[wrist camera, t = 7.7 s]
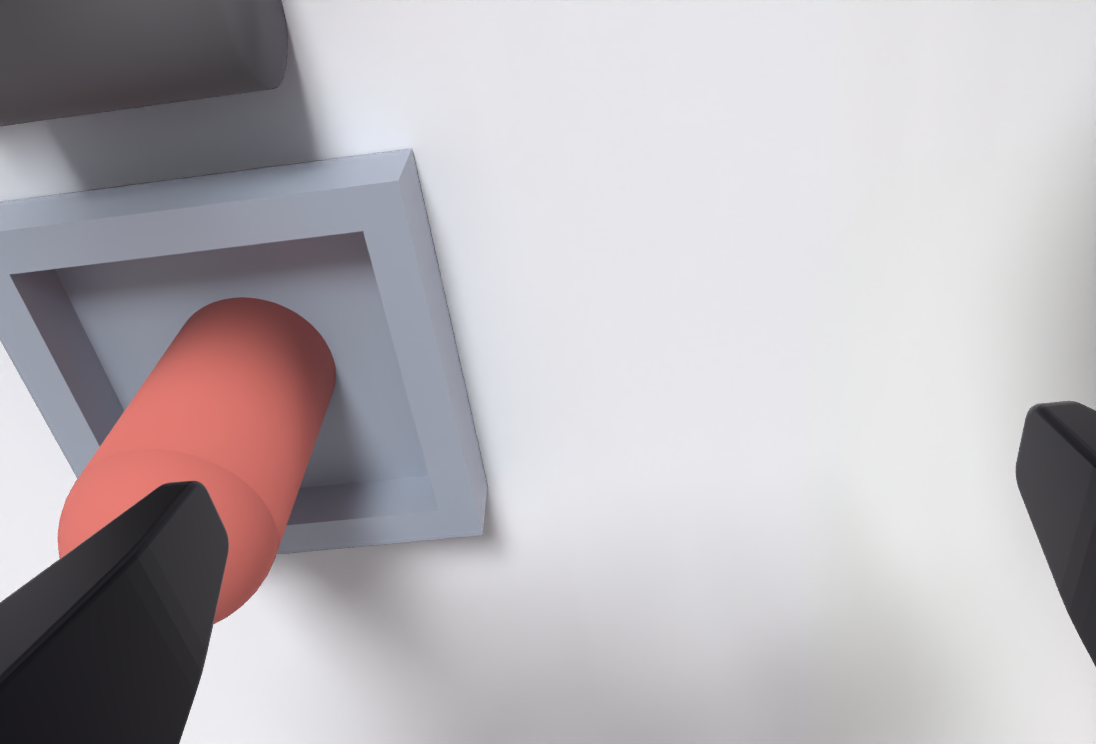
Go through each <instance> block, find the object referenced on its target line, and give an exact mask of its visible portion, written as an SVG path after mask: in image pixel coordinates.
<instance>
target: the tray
mask: <svg viewBox="0 0 1096 744" xmlns="http://www.w3.org/2000/svg"><path fill="white" fill-rule="evenodd" d="M239 297H246V298H257V299H262V300H267V301H270V302H274V303H277V304H279V305H282V306H284V307H286V308H288V309H290V310H292V311H294V312H296V313H297V314H299V315H300V316H301V317H303V318H304V319H306V320H307V321H308V322H309V323H310V324H311V325H312V326H313V327H314V328H315V329H316V330H317V331H318V332H319V333H320V334H321V336H322V337H323V339H324V340H325V341H326V343H327V345H328V347H329V349H330V351H331V353H332V356H333V359H334V363H335V370H336V380H335V386H334V390H333V394H332V396H331V399H330V402H329V405H328V408H327V411H326V414H325V416H324V419H323V422H322V425H321V428H320V431H319V434H318V437H317V439H316V442H315V445H314V448H313V451H312V454H311V457H310V460H309V462H308V465H307V468H306V471H305V474H304V477H303V480H302V482H301V485H300V488H299V491H298V494H297V497H296V500H295V503H294V505H293V508H292V511H291V514H290V517H289V520H288V523H287V525H286V528H285V531H284V534H283V537H282V540H281V543H280V546H279V548H278V551H277V554H285V553H296V552H307V551H318V550H328V549H339V548H350V547H361V546H371V545H382V544H393V543H404V542H414V541H425V540H436V539H447V538H457V537H468V536H479V535H483V527H484V517H485V507H486V498H487V488H488V485H487V481H486V477H485V472H484V468H483V463H482V459H481V454H480V450H479V445H478V441H477V436H476V432H475V428H474V423H473V419H472V414H471V410H470V405H469V401H468V396H467V392H466V387H465V383H464V378H463V374H462V370H461V365H460V361H459V356H458V352H457V347H456V343H455V338H454V334H453V329H452V325H451V321H450V316H449V312H448V307H447V303H446V298H445V294H444V289H443V285H442V280H441V276H440V271H439V267H438V263H437V258H436V254H435V249H434V245H433V240H432V236H431V231H430V227H429V222H428V218H427V214H426V209H425V205H424V200H423V196H422V191H421V187H420V182H419V178H418V173H417V169H416V164H415V160H414V156H413V151H412V149H405V150H397V151H390V152H382V153H374V154H366V155H359V156H351V157H343V158H336V159H328V160H320V161H313V162H305V163H297V164H290V165H282V166H274V167H266V168H259V169H251V170H243V171H236V172H228V173H220V174H213V175H205V176H197V177H189V178H182V179H174V180H166V181H159V182H151V183H143V184H136V185H128V186H120V187H113V188H105V189H97V190H89V191H82V192H74V193H66V194H59V195H51V196H43V197H36V198H28V199H20V200H12V201H5V202H0V340H1V342H2V344H3V346H4V348H5V349H6V351H7V353H8V355H9V357H10V358H11V360H12V362H13V364H14V366H15V367H16V369H17V371H18V373H19V375H20V376H21V378H22V380H23V382H24V384H25V385H26V387H27V389H28V391H29V393H30V394H31V396H32V398H33V400H34V402H35V403H36V405H37V407H38V409H39V410H40V412H41V414H42V416H43V418H44V419H45V421H46V423H47V425H48V427H49V428H50V430H51V432H52V434H53V436H54V437H55V439H56V441H57V443H58V445H59V446H60V448H61V450H62V452H63V454H64V455H65V457H66V459H67V461H68V463H69V464H70V466H71V468H72V470H73V472H74V473H75V475H76V477H77V479H78V478H79V476H80V475H81V473H82V472H83V470H84V469H85V467H86V466H87V465H88V463H89V462H90V460H91V459H92V457H93V456H94V454H95V453H96V452H97V450H98V449H99V447H100V446H101V444H102V443H103V441H104V440H105V438H106V437H107V436H108V434H109V433H110V431H111V430H112V428H113V427H114V425H115V424H116V423H117V421H118V420H119V418H120V417H121V415H122V414H123V412H124V411H125V409H126V408H127V407H128V405H129V404H130V402H131V401H132V399H133V398H134V396H135V395H136V394H137V392H138V391H139V389H140V388H141V386H142V385H143V383H144V382H145V380H146V379H147V378H148V376H149V375H150V373H151V372H152V370H153V369H154V367H155V366H156V364H157V363H158V362H159V360H160V359H161V357H162V356H163V354H164V353H165V351H166V350H167V349H168V347H169V346H170V344H171V343H172V341H173V340H174V338H175V337H176V335H177V334H178V333H179V331H180V330H181V328H182V327H183V325H184V324H185V323H186V321H187V320H188V319H189V318H190V317H191V316H192V315H193V314H194V313H195V312H196V311H198V310H199V309H201V308H202V307H204V306H206V305H208V304H211V303H213V302H216V301H219V300H223V299H229V298H239Z"/></svg>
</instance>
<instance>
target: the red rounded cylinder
mask: <svg viewBox="0 0 1096 744" xmlns="http://www.w3.org/2000/svg"><path fill="white" fill-rule="evenodd" d="M335 380H336V370H335V363H334V359H333V356H332V353H331V351H330V349H329V347H328V345H327V343H326V341H325V340H324V339H323V337H322V336H321V334H320V333H319V332H318V331H317V330H316V329H315V328H314V327H313V326H312V325H311V324H310V323H309V322H308V321H307V320H306V319H304V318H303V317H301V316H300V315H299V314H297V313H296V312H294V311H292V310H290V309H288V308H286V307H284V306H282V305H279V304H277V303H274V302H270V301H267V300H262V299H257V298H246V297H239V298H229V299H223V300H219V301H216V302H213V303H211V304H208V305H206V306H204V307H202V308H201V309H199V310H198V311H196V312H195V313H194V314H193V315H192V316H191V317H190V318H189V319H188V320H187V321H186V323H185V324H184V325H183V327H182V328H181V330H180V331H179V333H178V334H177V335H176V337H175V338H174V340H173V341H172V343H171V344H170V346H169V347H168V349H167V350H166V351H165V353H164V354H163V356H162V357H161V359H160V360H159V362H158V363H157V364H156V366H155V367H154V369H153V370H152V372H151V373H150V375H149V376H148V378H147V379H146V380H145V382H144V383H143V385H142V386H141V388H140V389H139V391H138V392H137V394H136V395H135V396H134V398H133V399H132V401H131V402H130V404H129V405H128V407H127V408H126V409H125V411H124V412H123V414H122V415H121V417H120V418H119V420H118V421H117V423H116V424H115V425H114V427H113V428H112V430H111V431H110V433H109V434H108V436H107V437H106V438H105V440H104V441H103V443H102V444H101V446H100V447H99V449H98V450H97V452H96V453H95V454H94V456H93V457H92V459H91V460H90V462H89V463H88V465H87V466H86V467H85V469H84V470H83V472H82V473H81V475H80V476H79V478H78V479H77V481H76V482H75V484H74V486H73V487H72V489H71V491H70V493H69V495H68V497H67V499H66V501H65V504H64V507H63V510H62V513H61V517H60V522H59V529H58V550H59V558H62V557H63V556H65V555H66V554H67V553H69V552H70V551H71V550H73V549H74V548H76V547H77V546H78V545H80V544H81V543H82V542H84V541H85V540H86V539H88V538H89V537H91V536H92V535H93V534H95V533H96V532H97V531H99V530H100V529H101V528H103V527H104V526H106V525H107V524H108V523H110V522H111V521H112V520H114V519H115V518H117V517H118V516H119V515H121V514H122V513H123V512H125V511H126V510H127V509H129V508H130V507H132V506H133V505H134V504H136V503H137V502H138V501H140V500H141V499H142V498H144V497H145V496H147V495H148V494H149V493H151V492H152V491H153V490H155V489H156V488H158V487H159V486H161V485H162V484H165V483H170V482H181V481H193V480H194V481H198V482H201V483H202V484H203V485H204V486H205V487H206V489H207V490H208V492H209V495H210V497H211V499H212V501H213V503H214V505H215V507H216V510H217V512H218V514H219V516H220V518H221V520H222V522H223V525H224V527H225V529H226V532H227V535H228V540H229V552H228V557H227V562H226V567H225V571H224V576H223V581H222V585H221V590H220V595H219V600H218V604H217V609H216V614H215V618H214V623H213V624H215V623H217V622H219V621H221V620H223V619H224V618H226V617H228V616H229V615H231V614H232V613H233V612H235V611H236V610H237V609H239V608H240V607H241V606H242V605H244V604H245V603H246V602H247V601H248V600H249V599H250V598H251V596H252V595H253V594H254V593H255V592H256V591H257V590H258V588H259V587H260V585H261V584H262V582H263V581H264V580H265V578H266V577H267V575H268V573H269V570H270V568H271V566H272V564H273V562H274V560H275V557H276V554H277V551H278V548H279V546H280V543H281V540H282V537H283V534H284V531H285V528H286V525H287V523H288V520H289V517H290V514H291V511H292V508H293V505H294V503H295V500H296V497H297V494H298V491H299V488H300V485H301V482H302V480H303V477H304V474H305V471H306V468H307V465H308V462H309V460H310V457H311V454H312V451H313V448H314V445H315V442H316V439H317V437H318V434H319V431H320V428H321V425H322V422H323V419H324V416H325V414H326V411H327V408H328V405H329V402H330V399H331V396H332V394H333V390H334V386H335Z"/></svg>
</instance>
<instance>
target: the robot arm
mask: <svg viewBox="0 0 1096 744" xmlns="http://www.w3.org/2000/svg"><path fill="white" fill-rule="evenodd" d="M1016 480H1017V484H1018V488H1019V491H1020V493H1021V496H1022V498H1023V501H1024V504H1025V506H1026V509H1027V511H1028V514H1029V516H1030V519H1031V521H1032V524H1033V527H1034V529H1035V532H1036V534H1037V537H1038V539H1039V542H1040V545H1041V547H1042V550H1043V552H1044V555H1045V557H1046V560H1047V562H1048V565H1049V568H1050V570H1051V573H1052V575H1053V578H1054V580H1055V583H1056V586H1057V588H1058V591H1059V593H1060V596H1061V598H1062V600H1063V603H1064V605H1065V607H1066V610H1067V612H1068V614H1069V616H1070V618H1071V620H1072V622H1073V624H1074V626H1075V628H1076V630H1077V632H1078V634H1079V636H1080V638H1081V640H1082V642H1083V644H1084V646H1085V647H1086V649H1087V651H1088V653H1089V655H1090V657H1091V659H1092V661H1093V662H1094V664H1095V666H1096V411H1095V410H1093V409H1091V408H1089V407H1087V406H1085V405H1082V404H1080V403H1078V402H1074V401H1063V402H1052V403H1041V404H1036V405H1034V406H1033V407H1031V408H1030V409H1029V411H1028V413H1027V415H1026V418H1025V423H1024V428H1023V433H1022V438H1021V443H1020V447H1019V452H1018V457H1017V462H1016ZM228 552H229V540H228V535H227V532H226V529H225V527H224V525H223V522H222V520H221V518H220V516H219V514H218V512H217V510H216V507H215V505H214V503H213V501H212V499H211V497H210V495H209V492H208V490H207V489H206V487H205V486H204V485H203V484H202V483H201V482H198V481H194V480H193V481H181V482H170V483H165V484H162V485H161V486H159V487H158V488H156V489H155V490H153V491H152V492H151V493H149V494H148V495H147V496H145V497H144V498H142V499H141V500H140V501H138V502H137V503H136V504H134V505H133V506H132V507H130V508H129V509H127V510H126V511H125V512H123V513H122V514H121V515H119V516H118V517H117V518H115V519H114V520H112V521H111V522H110V523H108V524H107V525H106V526H104V527H103V528H101V529H100V530H99V531H97V532H96V533H95V534H93V535H92V536H91V537H89V538H88V539H86V540H85V541H84V542H82V543H81V544H80V545H78V546H77V547H76V548H74V549H73V550H71V551H70V552H69V553H67V554H66V555H65V556H63V557H62V558H60V559H59V560H58V561H56V562H55V563H54V564H52V565H51V566H50V567H48V568H47V569H45V570H44V571H43V572H41V573H40V574H39V575H37V576H36V577H35V578H33V579H32V580H30V581H29V582H28V583H26V584H25V585H24V586H22V587H21V588H19V589H18V590H17V591H15V592H14V593H13V594H11V595H10V596H9V597H7V598H6V599H4V600H3V601H2V602H0V744H179V743H180V740H181V736H182V733H183V730H184V727H185V724H186V721H187V718H188V715H189V712H190V709H191V706H192V703H193V700H194V697H195V694H196V691H197V688H198V685H199V681H200V678H201V675H202V671H203V667H204V663H205V659H206V655H207V651H208V646H209V642H210V637H211V632H212V628H213V623H214V618H215V614H216V609H217V604H218V600H219V595H220V590H221V585H222V581H223V576H224V571H225V567H226V562H227V557H228Z"/></svg>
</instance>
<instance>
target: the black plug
mask: <svg viewBox="0 0 1096 744" xmlns="http://www.w3.org/2000/svg"><path fill="white" fill-rule="evenodd" d="M286 63H287V34H286V24H285V16H284V10H283V6H282V2H281V0H0V126H5V125H13V124H20V123H27V122H35V121H42V120H49V119H56V118H64V117H71V116H78V115H86V114H93V113H100V112H107V111H115V110H122V109H129V108H137V107H144V106H151V105H158V104H166V103H173V102H180V101H188V100H195V99H202V98H209V97H217V96H224V95H231V94H239V93H246V92H253V91H260V90H268V89H274V88H276V87H278V86H279V85H280V84H281V82H282V80H283V77H284V74H285V70H286Z"/></svg>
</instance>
